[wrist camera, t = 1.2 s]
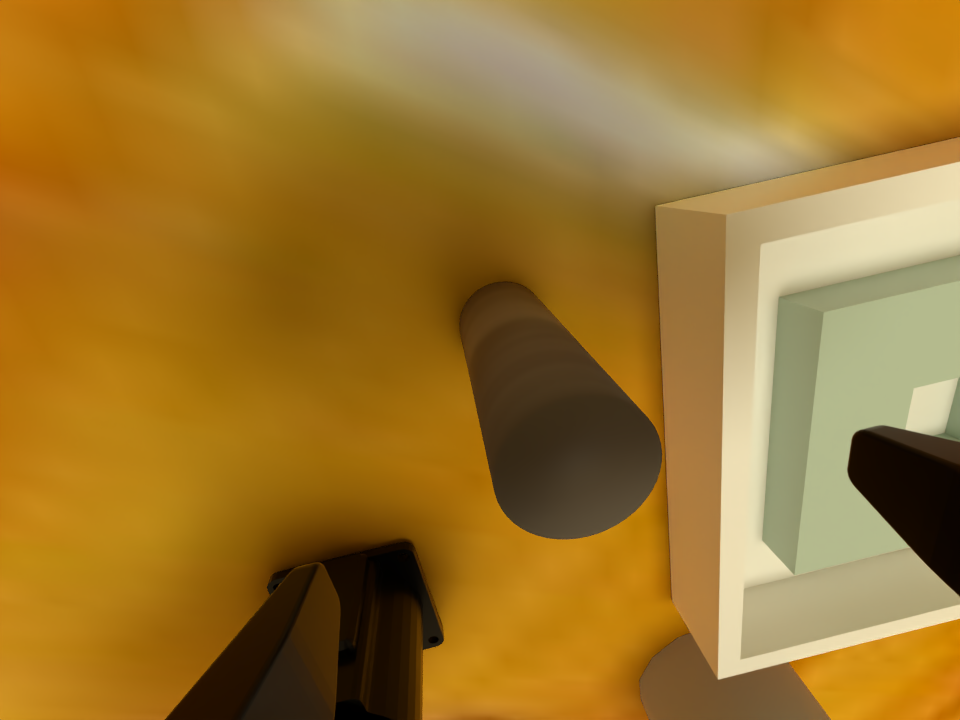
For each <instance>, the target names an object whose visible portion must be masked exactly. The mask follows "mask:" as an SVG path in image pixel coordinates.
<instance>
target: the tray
mask: <svg viewBox="0 0 960 720" xmlns="http://www.w3.org/2000/svg"><path fill="white" fill-rule="evenodd" d="M655 216H656V240H657V263H658V287H659V310H660V333H661V357H662V380H663V403H664V427H665V450H666V474H667V497H668V520H669V544H670V567H671V591H672V602H673V603H674V605H675V607H676V608H677V610H678V612H679V614H680V615H681V617H682V619H683V620H684V622H685V624H686V626H687V627H688V629H689V631H690V633H691V634H692V636H693V638H694V639H695V641H696V643H697V645H698V646H699V648H700V650H701V652H702V653H703V655H704V657H705V658H706V660H707V662H708V664H709V665H710V667H711V669H712V671H713V672H714V674H715V676H716V677H717V679H718V680H719V679H723V678H727V677H731V676H735V675H739V674H743V673H746V672H750V671H754V670H758V669H762V668H766V667H770V666H774V665H778V664H782V663H786V662H790V661H794V660H798V659H802V658H806V657H810V656H814V655H818V654H822V653H825V652H829V651H833V650H837V649H841V648H845V647H849V646H853V645H857V644H861V643H865V642H869V641H873V640H877V639H881V638H885V637H889V636H893V635H897V634H900V633H904V632H908V631H912V630H916V629H920V628H924V627H928V626H932V625H936V624H940V623H944V622H948V621H952V620H956V619H960V597H959V596H958V595H957V594H956V593H955V592H954V591H953V590H952V589H951V588H950V587H949V586H948V585H947V584H946V583H944V582H943V581H942V580H941V579H940V578H939V577H938V576H937V575H936V574H935V573H934V572H933V571H932V570H931V569H930V568H929V567H928V566H927V565H926V564H925V563H924V562H923V561H922V560H921V559H920V558H919V557H918V555H917V554H916V553H915V552H914V551H913V550H912V549H911V548H910V547H909V546H908V545H907V544H906V542H905V541H904V540H903V539H902V538H901V537H900V536H899V535H898V534H897V533H896V532H895V530H894V529H893V528H892V527H891V526H890V525H889V524H888V523H887V522H886V521H885V519H884V518H883V517H882V516H881V515H880V514H879V513H878V512H877V511H876V510H875V509H874V507H873V506H872V505H871V504H870V503H869V502H868V501H867V500H866V499H865V498H864V497H863V495H862V494H861V493H860V492H859V491H858V490H857V489H856V488H855V487H854V485H853V484H852V483H851V481H850V479H849V477H848V473H847V466H848V459H849V453H850V446H851V439H852V436H853V435H854V433H855V432H856V431H858V430H861V429H865V428H869V427H873V426H878V425H886V426H891V427H895V428H900V429H904V430H909V431H913V432H918V433H922V434H927V435H931V436H936V437H940V438H945V439H949V440H954V441H958V442H960V137H958V138H953V139H949V140H944V141H940V142H936V143H931V144H927V145H922V146H918V147H913V148H909V149H905V150H900V151H896V152H891V153H887V154H882V155H878V156H874V157H869V158H865V159H860V160H856V161H851V162H847V163H842V164H838V165H834V166H829V167H825V168H820V169H816V170H811V171H807V172H803V173H798V174H794V175H789V176H785V177H780V178H776V179H772V180H767V181H763V182H758V183H754V184H749V185H745V186H741V187H736V188H732V189H727V190H723V191H718V192H714V193H709V194H705V195H701V196H696V197H692V198H687V199H683V200H678V201H674V202H670V203H665V204H661V205H656V206H655Z"/></svg>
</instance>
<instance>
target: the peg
mask: <svg viewBox="0 0 960 720" xmlns="http://www.w3.org/2000/svg"><path fill="white" fill-rule="evenodd" d="M459 325H460V334H461V339H462V344H463V348H464V353H465V358H466V362H467V367H468V371H469V376H470V381H471V385H472V390H473V395H474V399H475V404H476V408H477V413H478V418H479V422H480V427H481V431H482V436H483V441H484V445H485V450H486V455H487V459H488V464H489V468H490V473H491V478H492V482H493V487H494V492H495V495H496V498H497V501H498V503H499V505H500V507H501V509H502V510H503V512H504V513H505V514H506V516H507V517H508V518H509V519H510V520H511V521H512V522H513V523H515V524H516V525H517V526H519V527H520V528H522V529H524V530H526V531H528V532H530V533H532V534H535V535H537V536H541V537H546V538H552V539H576V538H582V537H587V536H591V535H594V534H598V533H600V532H603V531H605V530H607V529H609V528H611V527H613V526H615V525H617V524H619V523H620V522H622V521H623V520H625V519H626V518H627V517H629V516H630V515H631V514H632V513H634V512H635V511H636V510H637V509H638V508H639V507H640V506H641V505H642V503H643V502H644V501H645V500H646V498H647V497H648V496H649V494H650V492H651V491H652V489H653V487H654V485H655V483H656V481H657V479H658V475H659V472H660V468H661V463H662V449H661V442H660V439H659V436H658V433H657V431H656V429H655V427H654V425H653V424H652V423H651V421H650V420H649V418H648V417H647V416H646V415H645V414H644V413H643V412H642V411H641V410H640V409H639V408H638V407H637V405H636V404H635V403H634V402H633V401H632V400H631V399H630V398H629V397H628V396H627V395H626V393H625V392H624V391H623V390H622V389H621V388H620V387H619V386H618V385H617V384H616V383H615V382H614V380H613V379H612V378H611V377H610V376H609V375H608V374H607V373H606V372H605V371H604V370H603V368H602V367H601V366H600V365H599V364H598V363H597V362H596V361H595V360H594V359H593V358H592V357H591V355H590V354H589V353H588V352H587V351H586V350H585V349H584V348H583V347H582V346H581V345H580V343H579V342H578V341H577V340H576V339H575V338H574V337H573V336H572V335H571V334H570V333H569V331H568V330H567V329H566V328H565V327H564V326H563V325H562V324H561V323H560V322H559V321H558V320H557V318H556V317H555V316H554V315H553V314H552V313H551V312H550V311H549V310H548V309H547V308H546V306H545V305H544V304H543V303H542V302H541V301H540V300H539V299H538V298H537V297H536V296H535V295H534V294H533V293H532V292H531V291H530V290H529V289H527V288H526V287H524V286H522V285H519V284H516V283H512V282H497V283H492V284H489V285H487V286H484V287H482V288H481V289H479V290H478V291H476V292H475V293H474V294H473V295H472V296H471V297H470V298H469V299H468V301H467V302H466V304H465V306H464V307H463V310H462V312H461V316H460V323H459Z"/></svg>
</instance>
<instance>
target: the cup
mask: <svg viewBox="0 0 960 720" xmlns="http://www.w3.org/2000/svg"><path fill="white" fill-rule="evenodd" d="M640 695H641V701H642V704H643V706H644V708H645V711H646V713H647V716H648V718H649V720H831V719H830V718H829V716H828V715H827V714H826V712H825V711H824V710H823V708H822V707H821V706H820V704H819V703H818V702H817V700H816V699H815V698H814V696H813V695H812V694H811V692H810V691H809V690H808V688H807V687H806V686H805V684H804V683H803V681H802V680H801V679H800V677H799V676H798V675H797V673H796V672H795V671H794V669H793V668H792V667H791V665H790V664H789V663H788V662H786V663H782V664H778V665H774V666H770V667H766V668H762V669H758V670H754V671H750V672H746V673H743V674H739V675H735V676H731V677H727V678H723V679H719V680H718V679H717V677H716V676H715V674H714V672H713V671H712V669H711V667H710V665H709V664H708V662H707V660H706V658H705V657H704V655H703V653H702V652H701V650H700V648H699V646H698V645H697V643H696V641H695V639H694V638H693V636H692V634H691V633H689V634H686V635H683V636H681V637H678V638H677V639H675V640H674V641H673V642H671V643H670V644H669V645H668V646H666V647H665V648H664V649H663V650H661V651H660V652H659V653H657V654H656V655H655V656H654V657H652V659H651V661H650V662H649V664H648V666H647V668H646V669H645V671H644V673H643V674H642V676H641V678H640Z"/></svg>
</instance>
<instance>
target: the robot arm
mask: <svg viewBox="0 0 960 720" xmlns="http://www.w3.org/2000/svg"><path fill="white" fill-rule="evenodd" d="M847 473H848V477H849V479H850V481H851V483H852V484H853V485H854V487H855V488H856V489H857V490H858V491H859V492H860V493H861V494H862V495H863V497H864V498H865V499H866V500H867V501H868V502H869V503H870V504H871V505H872V506H873V507H874V509H875V510H876V511H877V512H878V513H879V514H880V515H881V516H882V517H883V518H884V519H885V521H886V522H887V523H888V524H889V525H890V526H891V527H892V528H893V529H894V530H895V532H896V533H897V534H898V535H899V536H900V537H901V538H902V539H903V540H904V541H905V542H906V544H907V545H908V546H909V547H910V548H911V549H912V550H913V551H914V552H915V553H916V554H917V555H918V557H919V558H920V559H921V560H922V561H923V562H924V563H925V564H926V565H927V566H928V567H929V568H930V569H931V570H932V571H933V572H934V573H935V574H936V575H937V576H938V577H939V578H940V579H941V580H942V581H943V582H944V583H946V584H947V585H948V586H949V587H950V588H951V589H952V590H953V591H954V592H955V593H956V594H957V595H958V596H959V597H960V442H958V441H954V440H949V439H945V438H940V437H936V436H931V435H927V434H922V433H918V432H913V431H909V430H904V429H900V428H895V427H891V426H886V425H878V426H873V427H869V428H865V429H861V430H858V431H856V432H855V433H854V435H853V436H852V439H851V446H850V453H849V459H848V466H847ZM402 553H405V554H406V555H401V554H402ZM267 589H268V592H269V594H270V597H269V598H268V599H267V600H266V601H265V603H264V604H263V605H262V606H261V607H260V608H259V610H258V611H257V612H256V613H255V614H254V615H253V617H252V618H251V619H250V620H249V621H248V622H247V624H246V625H245V626H244V627H243V628H242V630H241V631H240V632H239V633H238V634H237V635H236V637H235V638H234V639H233V640H232V641H231V642H230V644H229V645H228V646H227V647H226V648H225V650H224V651H223V652H222V653H221V654H220V655H219V657H218V658H217V659H216V660H215V661H214V662H213V664H212V665H211V666H210V667H209V668H208V669H207V671H206V672H205V673H204V674H203V675H202V677H201V678H200V679H199V680H198V681H197V682H196V684H195V685H194V686H193V687H192V688H191V689H190V691H189V692H188V693H187V694H186V695H185V696H184V698H183V699H182V700H181V701H180V702H179V704H178V705H177V706H176V707H175V708H174V709H173V711H172V712H171V713H170V714H169V715H168V716H167V718H166V719H165V720H422V683H423V650H424V649H428V648H432V647H436V646H439V645H440V644H442V642H443V641H444V635H443V627H442V625H441V622H440V619H439V616H438V613H437V610H436V607H435V605H434V602H433V599H432V596H431V593H430V590H429V587H428V585H427V582H426V579H425V576H424V573H423V570H422V567H421V565H420V562H419V559H418V556H417V553H416V550H415V548H414V546H413V545H412V544H410V543H407V542H401V543H396V544H392V545H388V546H384V547H380V548H376V549H372V550H367V551H363V552H359V553H355V554H351V555H347V556H343V557H338V558H334V559H330V560H326V561H322V562H315V563H311V564H307V565H303V566H298V567H296V568H293V569H289V570H284V571H280V572H277V573H274V574H273V575H272V576H271V578H270V580H269V583H268V586H267Z"/></svg>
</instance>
